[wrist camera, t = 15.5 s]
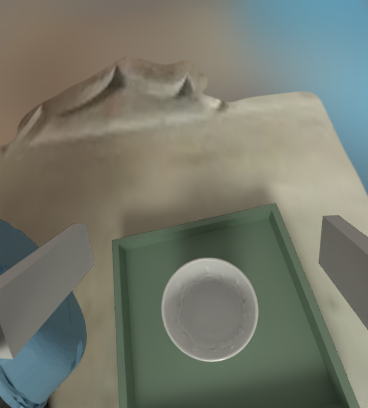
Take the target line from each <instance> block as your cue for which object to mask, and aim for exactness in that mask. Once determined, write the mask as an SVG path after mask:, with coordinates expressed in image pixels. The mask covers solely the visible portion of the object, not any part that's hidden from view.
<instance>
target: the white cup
mask: <svg viewBox="0 0 368 408" xmlns="http://www.w3.org/2000/svg"><path fill="white" fill-rule="evenodd" d="M161 312H162V319H163V323H164V326H165V329H166V331H167V333H168V335H169V337H170V339H171V340H172V341H173V343H174V344H175V345H176V346H177V347H178V348H179V349H180V350H181V351H182V352H184V353H185V354H187V355H188V356H190V357H192V358H195V359H198V360H201V361H208V362H215V361H222V360H225V359H228V358H230V357H232V356H234V355H236V354H237V353H239V352H240V351H241V350H242V349H243V348H244V347H245V346H246V345H247V344H248V342H249V341H250V339H251V338H252V336H253V334H254V332H255V329H256V326H257V321H258V302H257V297H256V294H255V291H254V289H253V286H252V284H251V283H250V281H249V280H248V278H247V277H246V276H245V274H244V273H243V272H242V271H241V270H239V269H238V268H237V267H236V266H234V265H233V264H231V263H229V262H227V261H224V260H221V259H217V258H199V259H195V260H192V261H190V262H188V263H186V264H184V265H183V266H181V267H180V268H179V269H178V270H177V271H176V272H175V273H174V274H173V275H172V276H171V278H170V279H169V281H168V283H167V285H166V287H165V290H164V293H163V297H162V304H161Z"/></svg>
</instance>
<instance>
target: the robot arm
mask: <svg viewBox="0 0 368 408" xmlns="http://www.w3.org/2000/svg"><path fill="white" fill-rule="evenodd" d="M319 264H320V265H321V267H322V268H323V269H324V271H325V272H326V274H327V275H328V276H329V278H330V279H331V280H332V282H333V283H334V284H335V286H336V287H337V288H338V290H339V291H340V293H341V294H342V295H343V297H344V298H345V299H346V301H347V302H348V303H349V305H350V306H351V308H352V309H353V310H354V312H355V313H356V314H357V316H358V317H359V318H360V320H361V321H362V323H363V324H364V325H365V327H366V328H367V329H368V237H367V236H366V235H364V234H363V233H362V232H360V231H359V230H358V229H356V228H355V227H354V226H352V225H351V224H350V223H348V222H347V221H346V220H344V219H343V218H342V217H340V216H339V215H335V216H323V220H322V231H321V242H320V254H319ZM93 265H94V260H93V255H92V250H91V246H90V241H89V236H88V231H87V227H86V223H78V224H73V225H71V226H70V227H68V228H67V229H65V230H64V231H63V232H61V233H60V234H58V235H57V236H56V237H54V238H53V239H51V240H50V241H48V242H47V243H46V244H44V245H43V246H41V247H40V248H39V247H38V246H37V245H36V244H35V243H34V242H33V241H32V240H31V239H30V238H29V237H28V236H26V235H25V234H24V233H23V232H21V231H20V230H18V229H14V228H13V227H12V226H11V225H10V224H9V223H7V222H6V221H3V220H1V219H0V408H48V404H47V400H48V398H49V396H50V395H51V394H52V393H53V392H54V391H55V390H56V389H57V388H58V386H59V385H60V384H61V383H62V382H63V381H64V380H65V379H66V378H67V377H68V376H69V375H70V373H71V372H72V371H73V370H74V369H75V368H76V366H77V365H78V363H79V362H80V360H81V358H82V356H83V354H84V351H85V347H86V341H87V332H86V325H85V320H84V317H83V313H82V311H81V308H80V306H79V304H78V302H77V300H76V298H75V296H74V294H73V292H72V290H73V289H74V288H75V286H76V285H77V284H78V283H79V282H80V281H81V279H82V278H83V277H84V276H85V275H86V274H87V272H88V271H89V270H90V269H91V268H92V267H93Z"/></svg>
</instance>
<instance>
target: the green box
mask: <svg viewBox="0 0 368 408" xmlns="http://www.w3.org/2000/svg"><path fill="white" fill-rule="evenodd" d="M112 251H113V274H114V297H115V321H116V344H117V367H118V390H119V408H360V407H359V404H358V402H357V400H356V397H355V395H354V392H353V390H352V387H351V385H350V383H349V380H348V378H347V375H346V373H345V370H344V368H343V365H342V363H341V361H340V358H339V356H338V353H337V351H336V348H335V346H334V344H333V341H332V339H331V336H330V334H329V331H328V329H327V327H326V324H325V322H324V319H323V317H322V314H321V312H320V310H319V307H318V305H317V302H316V300H315V297H314V295H313V292H312V290H311V288H310V285H309V283H308V280H307V278H306V275H305V273H304V271H303V268H302V266H301V263H300V261H299V258H298V256H297V254H296V251H295V249H294V246H293V244H292V241H291V239H290V236H289V234H288V232H287V229H286V227H285V224H284V222H283V219H282V217H281V215H280V212H279V210H278V207H277V205H276V203H274V204H270V205H265V206H261V207H256V208H252V209H248V210H243V211H239V212H234V213H230V214H226V215H221V216H217V217H212V218H208V219H204V220H199V221H195V222H190V223H186V224H182V225H177V226H173V227H168V228H164V229H159V230H155V231H151V232H146V233H142V234H137V235H133V236H129V237H124V238H120V239H115V240H112ZM199 258H217V259H221V260H224V261H227V262H229V263H231V264H233V265H234V266H236V267H237V268H238V269H239V270H241V271H242V272H243V273H244V274H245V276H246V277H247V278H248V280H249V281H250V283H251V284H252V286H253V289H254V291H255V294H256V297H257V302H258V321H257V326H256V329H255V332H254V334H253V336H252V338H251V339H250V341H249V342H248V344H247V345H246V346H245V347H244V348H243V349H242V350H241V351H240V352H239V353H237V354H236V355H234V356H232V357H230V358H228V359H225V360H222V361H215V362H208V361H201V360H198V359H195V358H192V357H190V356H188V355H187V354H185V353H184V352H182V351H181V350H180V349H179V348H178V347H177V346H176V345H175V344H174V343H173V341H172V340H171V339H170V337H169V335H168V333H167V331H166V329H165V326H164V323H163V319H162V312H161V304H162V297H163V293H164V290H165V287H166V285H167V283H168V281H169V279H170V278H171V276H172V275H173V274H174V273H175V272H176V271H177V270H178V269H179V268H180V267H181V266H183V265H184V264H186V263H188V262H190V261H192V260H195V259H199Z"/></svg>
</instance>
